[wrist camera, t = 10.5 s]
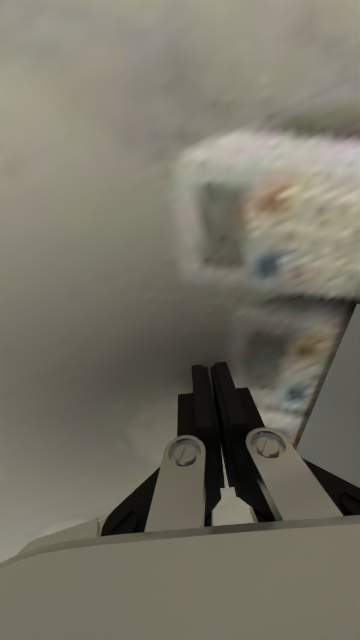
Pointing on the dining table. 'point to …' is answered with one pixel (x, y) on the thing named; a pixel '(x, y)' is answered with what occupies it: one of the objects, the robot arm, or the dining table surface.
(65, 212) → the dining table surface
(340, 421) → the side door
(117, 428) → the dining table surface
